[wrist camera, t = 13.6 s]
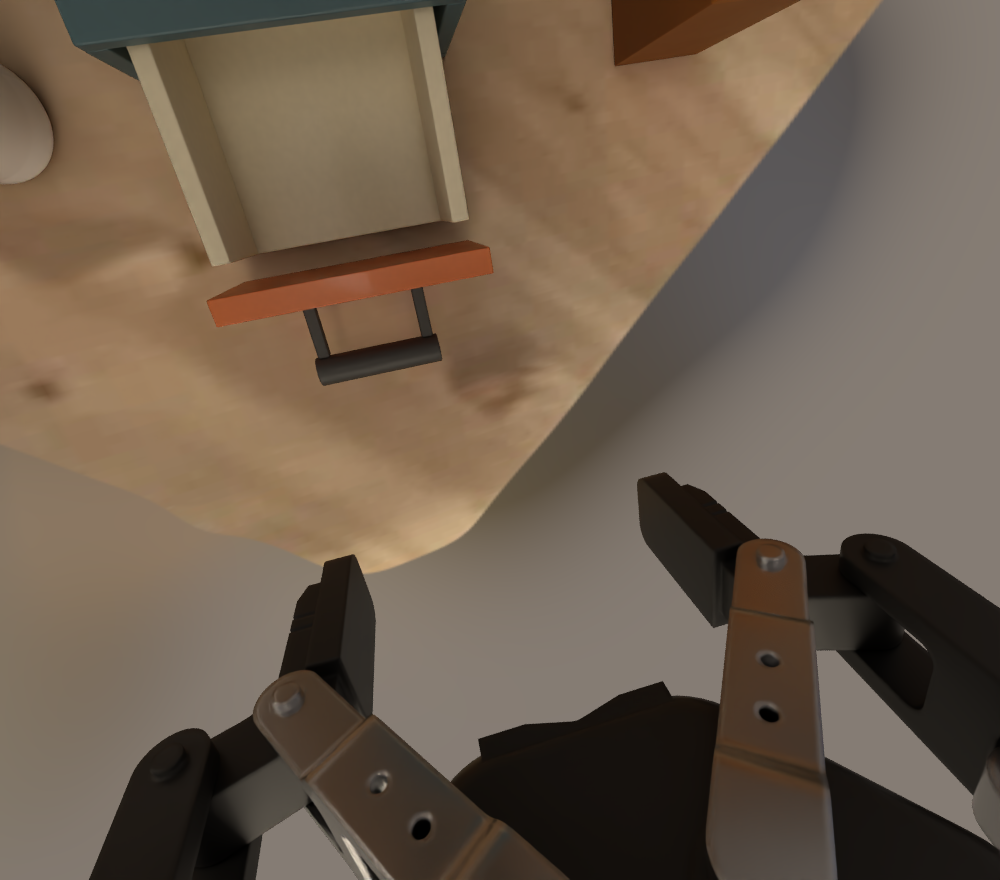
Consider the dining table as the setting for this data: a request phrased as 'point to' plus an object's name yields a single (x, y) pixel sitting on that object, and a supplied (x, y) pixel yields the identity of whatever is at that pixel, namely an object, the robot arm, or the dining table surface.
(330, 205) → the drawer
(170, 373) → the dining table surface
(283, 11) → the cabinet
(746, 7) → the bread
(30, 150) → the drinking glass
